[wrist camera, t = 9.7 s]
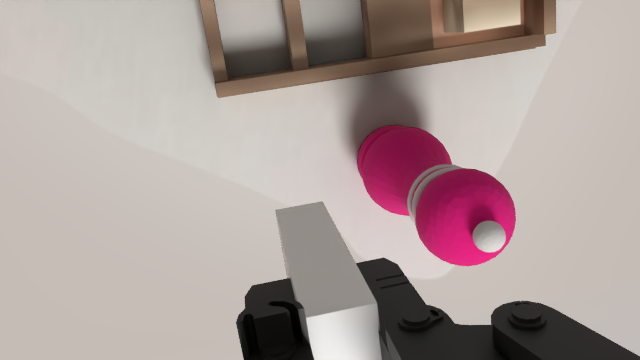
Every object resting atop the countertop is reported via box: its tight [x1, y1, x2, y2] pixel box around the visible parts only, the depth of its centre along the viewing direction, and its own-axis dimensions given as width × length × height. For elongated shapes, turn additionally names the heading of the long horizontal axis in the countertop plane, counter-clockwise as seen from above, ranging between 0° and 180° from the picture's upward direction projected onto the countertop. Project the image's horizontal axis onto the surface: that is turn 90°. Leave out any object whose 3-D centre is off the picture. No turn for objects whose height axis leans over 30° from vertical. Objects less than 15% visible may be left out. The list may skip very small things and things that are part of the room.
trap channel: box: [200, 0, 556, 98], centre depth 42 cm, size 9×27×5 cm, turn 99°
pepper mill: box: [358, 125, 516, 266], centre depth 38 cm, size 7×7×20 cm
